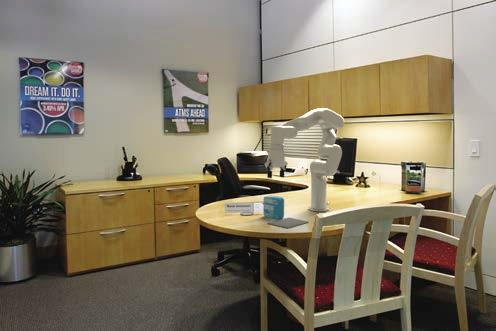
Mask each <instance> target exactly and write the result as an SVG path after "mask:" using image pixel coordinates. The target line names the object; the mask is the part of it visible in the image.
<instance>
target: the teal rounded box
mask: <svg viewBox="0 0 496 331" xmlns="http://www.w3.org/2000/svg"><path fill="white" fill-rule="evenodd" d="M262 209H263V216H264V217H265V218H270V219H275V220H281V219H284V217H285V199H284V197H281V196H275V195H266V196H263V208H262Z"/></svg>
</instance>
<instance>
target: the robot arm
mask: <svg viewBox="0 0 496 331" xmlns="http://www.w3.org/2000/svg"><path fill="white" fill-rule="evenodd" d="M318 124H319V127H320V129H321V132H322V138H321V141H320V144H319V146H318V149H317V157H318V158H319V159H314V160H313V161H311V162H310V164H309V170H310V171H309V172H310V180H311V181H310V182H311V184H310V187H311V188H310V206H308V210H309V211H312V212H326V211H329V207H328V206H329V205H330V202H329V201H327V188H328V187H327V185H328V184H327V178H326V177H333V176H334V175H335V174H337V170H338V168H339V165H340V162H341V159H342V156H343V150H342V147H341V146H340V145H338V144H335V143H336V140H337V135H336V133H335V131H334V130H341V129H342V128H343V127H344V125H345V119H344V117H342V115H340V114H339V113H338V112H337V113H336V112H335V111H333V110H331V109H329V108H316V109H313V110H310V111H308V112H307V113H305V114H304V115H302V116H299V117H297V118H294V119H291V120H289V121H288V120H287V121H286V122H284V123H282V124H280V125H272V126H271V128H270V144H269V145H270V146H269V147H270V148H269V150H268V155H267V161H266V162H264V166H265V167H264V168H265V169H266V171H267V175H266V177H267V179H272V178H273V169H274V168H279V169H280V170H279V177H280V178H285V171H286V169H287V167H288V162H287V161H286V158H285V150H284V148H285V146H284V145H285V144H284V141H285V140H293V139H295V138H296V137H297V136H298V132H303V131H307V130H309V129H310V128H312V127H313V126H316V125H318Z"/></svg>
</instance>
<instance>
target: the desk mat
mask: <svg viewBox="0 0 496 331" xmlns="http://www.w3.org/2000/svg"><path fill="white" fill-rule="evenodd" d="M304 224H305V225H306V224H309V220H308V221H307V220H304V219H298V218H293V217H285V218H281V219H276V220H274V221H269V222H267V225H271V226H275V227H280V228H284V229H291V228H295V227H298V226H302V225H304Z"/></svg>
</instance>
